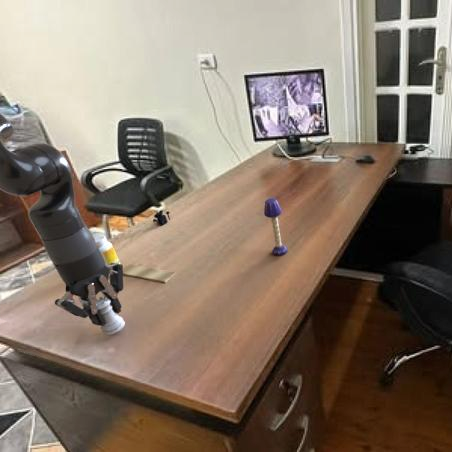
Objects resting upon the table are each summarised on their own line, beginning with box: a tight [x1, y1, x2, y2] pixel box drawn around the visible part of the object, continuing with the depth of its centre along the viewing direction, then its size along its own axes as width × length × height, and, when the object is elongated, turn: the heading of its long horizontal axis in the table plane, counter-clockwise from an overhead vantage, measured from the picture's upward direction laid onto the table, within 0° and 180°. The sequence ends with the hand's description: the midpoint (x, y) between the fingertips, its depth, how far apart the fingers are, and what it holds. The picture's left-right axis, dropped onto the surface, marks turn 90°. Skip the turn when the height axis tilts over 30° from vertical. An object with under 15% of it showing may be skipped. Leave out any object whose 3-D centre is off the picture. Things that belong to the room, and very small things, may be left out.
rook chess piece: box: [96, 295, 126, 336], centre depth 75 cm, size 4×4×8 cm
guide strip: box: [123, 263, 177, 284], centre depth 97 cm, size 18×4×1 cm, turn 70°
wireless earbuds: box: [152, 209, 171, 227], centre depth 122 cm, size 7×2×5 cm, turn 156°
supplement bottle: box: [93, 235, 121, 265], centre depth 99 cm, size 5×5×10 cm
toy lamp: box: [263, 198, 288, 257], centre depth 96 cm, size 5×5×17 cm
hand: (109, 317), depth 75 cm, fingers closed on rook chess piece, 3 cm apart
